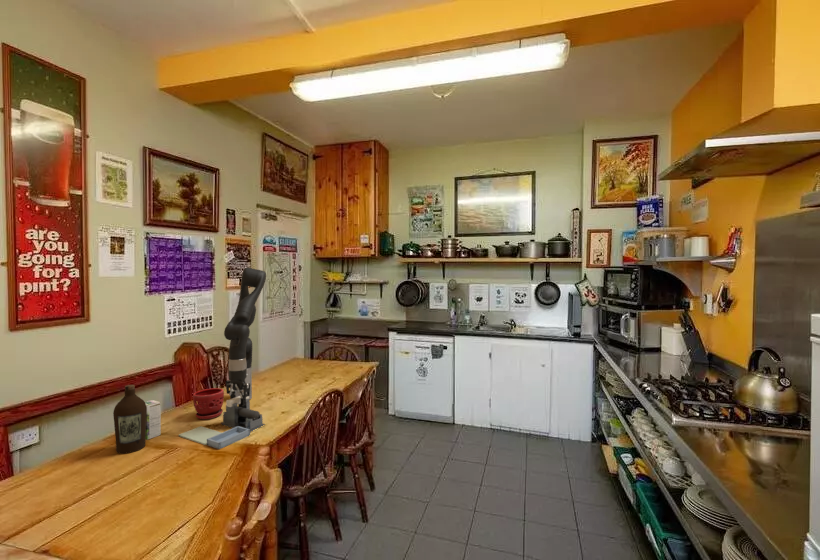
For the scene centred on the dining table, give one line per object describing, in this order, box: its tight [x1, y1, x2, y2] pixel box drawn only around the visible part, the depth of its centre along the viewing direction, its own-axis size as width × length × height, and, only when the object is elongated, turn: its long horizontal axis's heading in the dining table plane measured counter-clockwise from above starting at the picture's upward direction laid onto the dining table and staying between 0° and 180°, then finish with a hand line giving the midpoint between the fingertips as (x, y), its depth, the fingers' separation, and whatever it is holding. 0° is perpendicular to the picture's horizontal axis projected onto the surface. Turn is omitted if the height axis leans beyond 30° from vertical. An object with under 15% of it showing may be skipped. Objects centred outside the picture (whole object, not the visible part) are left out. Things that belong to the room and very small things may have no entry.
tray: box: [206, 426, 251, 450], centre depth 159 cm, size 8×15×2 cm, turn 152°
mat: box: [177, 425, 223, 446], centre depth 163 cm, size 18×10×1 cm, turn 62°
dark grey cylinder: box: [238, 407, 261, 420], centre depth 174 cm, size 18×4×4 cm, turn 62°
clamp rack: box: [220, 399, 266, 433], centre depth 174 cm, size 19×8×11 cm, turn 62°
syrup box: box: [144, 399, 162, 440], centre depth 163 cm, size 6×6×14 cm
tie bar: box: [225, 396, 249, 407], centre depth 175 cm, size 3×10×3 cm, turn 152°
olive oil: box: [112, 384, 147, 454], centre depth 151 cm, size 11×11×25 cm
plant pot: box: [192, 387, 225, 420], centre depth 185 cm, size 13×13×12 cm
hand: (238, 404), depth 175 cm, fingers open, 6 cm apart
